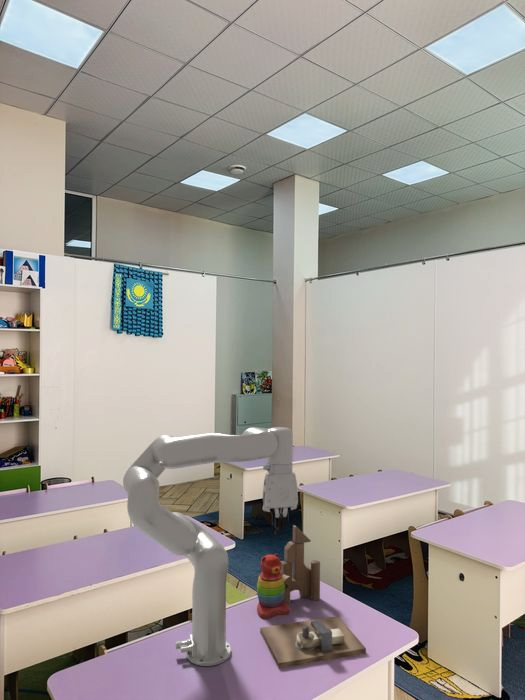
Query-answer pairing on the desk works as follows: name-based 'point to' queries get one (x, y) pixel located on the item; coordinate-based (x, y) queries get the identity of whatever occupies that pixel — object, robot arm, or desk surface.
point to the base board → (290, 654)
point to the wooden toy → (299, 569)
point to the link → (316, 637)
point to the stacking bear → (271, 588)
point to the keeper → (323, 636)
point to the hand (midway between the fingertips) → (279, 529)
